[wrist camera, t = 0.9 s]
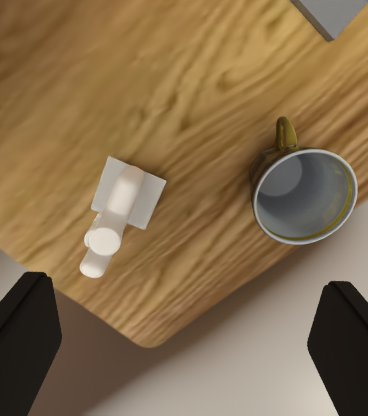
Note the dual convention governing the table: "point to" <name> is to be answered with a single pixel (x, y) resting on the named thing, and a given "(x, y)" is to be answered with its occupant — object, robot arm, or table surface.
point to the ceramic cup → (300, 190)
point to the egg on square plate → (329, 14)
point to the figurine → (118, 211)
